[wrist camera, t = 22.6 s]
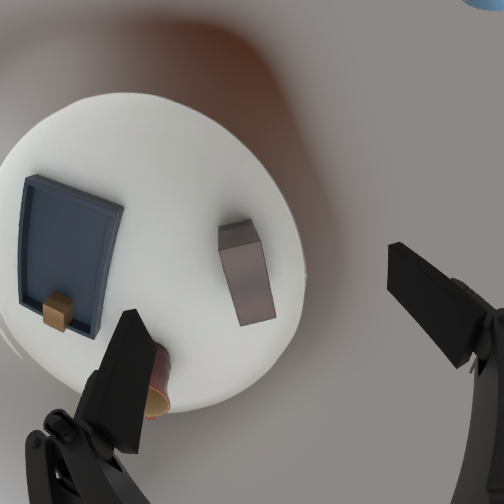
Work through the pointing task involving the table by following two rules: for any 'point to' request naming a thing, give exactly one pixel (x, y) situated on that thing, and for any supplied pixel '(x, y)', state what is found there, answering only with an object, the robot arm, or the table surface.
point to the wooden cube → (58, 311)
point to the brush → (246, 272)
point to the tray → (65, 249)
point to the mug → (158, 386)
